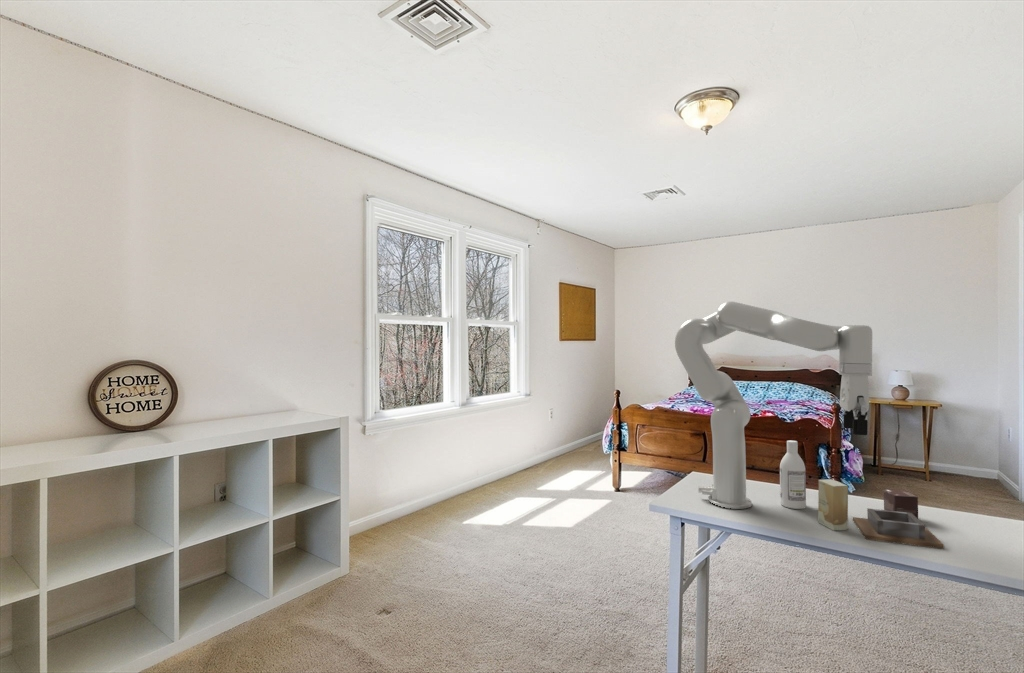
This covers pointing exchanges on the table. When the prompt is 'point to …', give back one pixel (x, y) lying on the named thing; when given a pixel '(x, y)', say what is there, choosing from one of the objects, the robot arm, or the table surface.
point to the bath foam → (792, 478)
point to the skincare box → (833, 504)
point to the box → (901, 501)
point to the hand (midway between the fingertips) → (854, 431)
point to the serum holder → (896, 528)
